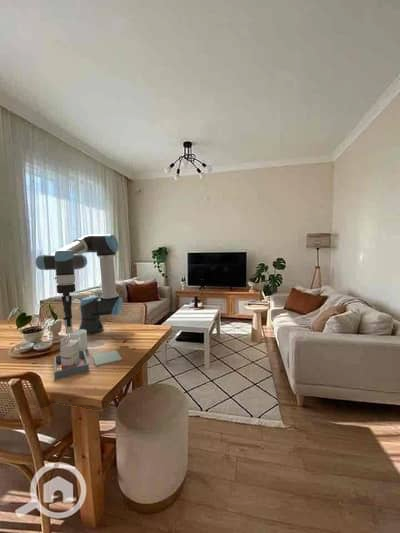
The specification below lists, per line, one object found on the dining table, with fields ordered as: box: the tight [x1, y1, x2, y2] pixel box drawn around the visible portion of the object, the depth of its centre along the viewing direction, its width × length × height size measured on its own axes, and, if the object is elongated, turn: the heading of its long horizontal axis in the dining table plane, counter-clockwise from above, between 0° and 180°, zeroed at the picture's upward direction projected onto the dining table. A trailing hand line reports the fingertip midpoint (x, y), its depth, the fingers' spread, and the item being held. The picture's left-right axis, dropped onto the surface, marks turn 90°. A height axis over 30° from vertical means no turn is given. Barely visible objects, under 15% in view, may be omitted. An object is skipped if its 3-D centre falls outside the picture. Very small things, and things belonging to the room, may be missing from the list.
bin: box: [53, 350, 90, 381], centre depth 117 cm, size 18×13×4 cm
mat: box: [91, 350, 123, 368], centre depth 125 cm, size 12×12×1 cm
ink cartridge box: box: [59, 334, 81, 370], centre depth 116 cm, size 9×5×15 cm, turn 5°
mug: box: [69, 329, 88, 351], centre depth 135 cm, size 12×8×10 cm
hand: (68, 329), depth 115 cm, fingers open, 13 cm apart
